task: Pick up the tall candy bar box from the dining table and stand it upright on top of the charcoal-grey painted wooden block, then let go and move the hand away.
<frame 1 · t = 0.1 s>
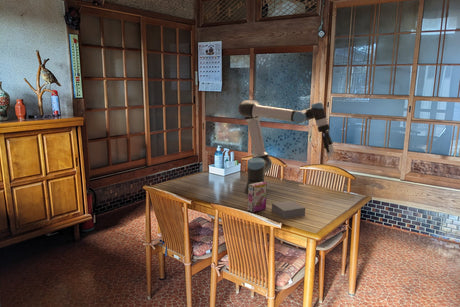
hand: (331, 155, 236), 28 cm above the table, tool tilted 20°, fingers open, 13 cm apart
candy bar box: (257, 210, 211), on the table
block: (288, 213, 207), on the table
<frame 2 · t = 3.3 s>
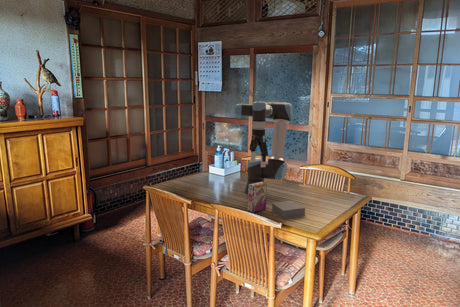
hand: (258, 164, 206), 28 cm above the table, tool pointing down, fingers open, 13 cm apart
nothing on the table moved.
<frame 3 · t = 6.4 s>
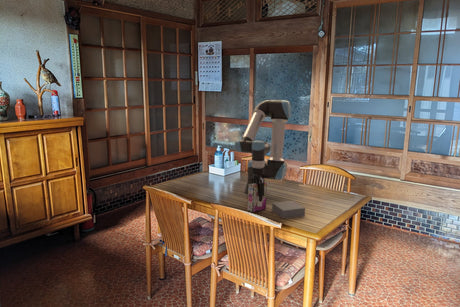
hand: (257, 204, 211), 3 cm above the table, tool pointing down, fingers closed on candy bar box, 6 cm apart
candy bar box: (257, 210, 211), on the table, touching gripper
everything else where it was.
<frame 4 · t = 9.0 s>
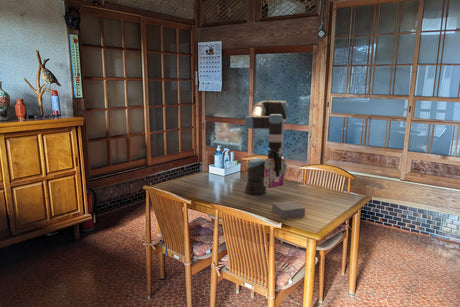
hand: (273, 180, 205), 19 cm above the table, tool pointing down, fingers closed on candy bar box, 6 cm apart
candy bar box: (273, 186, 205), point 16 cm above the table, touching gripper
everything else where it was.
when the fingers open (10 cm above the table, at t = 11.9 s): candy bar box drops 2 cm, resting on block.
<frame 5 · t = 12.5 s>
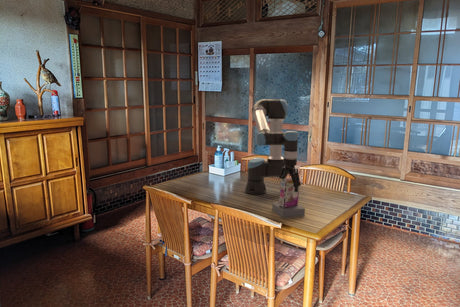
hand: (288, 193, 204), 12 cm above the table, tool pointing down, fingers open, 13 cm apart
candy bar box: (288, 206, 206), point 4 cm above the table, touching block
block: (287, 213, 207), on the table, touching candy bar box
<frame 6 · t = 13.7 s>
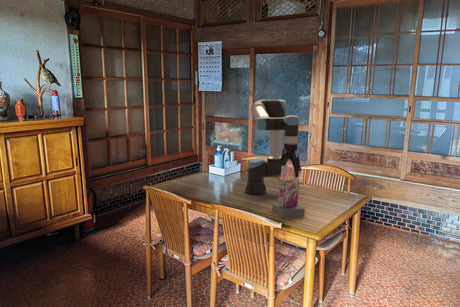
hand: (289, 179, 203), 20 cm above the table, tool pointing down, fingers open, 13 cm apart
nothing on the table moved.
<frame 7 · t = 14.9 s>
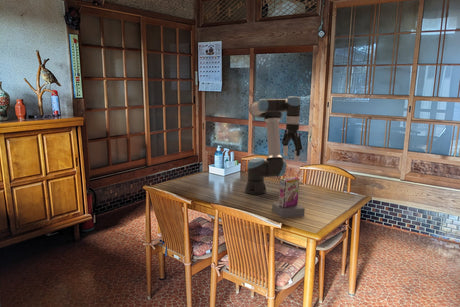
hand: (290, 158, 210), 31 cm above the table, tool pointing down, fingers open, 13 cm apart
candy bar box: (288, 205, 206), point 4 cm above the table
block: (287, 213, 207), on the table
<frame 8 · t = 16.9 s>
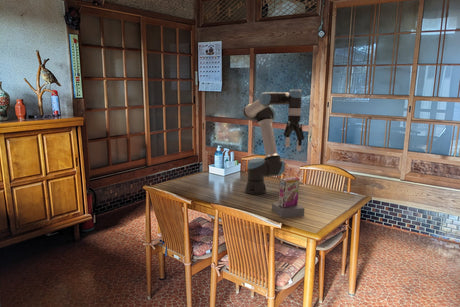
hand: (293, 149, 220), 35 cm above the table, tool pointing down, fingers open, 13 cm apart
candy bar box: (288, 205, 206), point 4 cm above the table, touching block
block: (287, 213, 207), on the table, touching candy bar box
at the end: candy bar box inside the target area on the block (0.1 cm from its centre), point 4.9 cm above the block's base; candy bar box tilted 2°; the gripper is holding nothing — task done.
